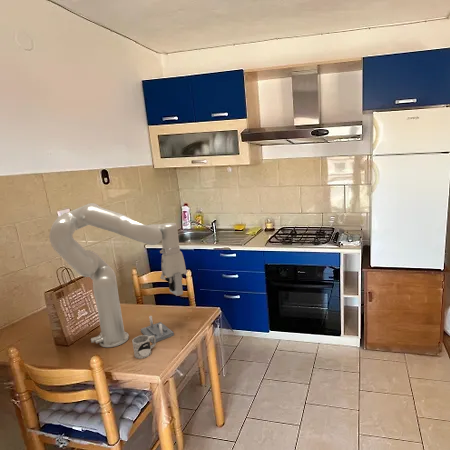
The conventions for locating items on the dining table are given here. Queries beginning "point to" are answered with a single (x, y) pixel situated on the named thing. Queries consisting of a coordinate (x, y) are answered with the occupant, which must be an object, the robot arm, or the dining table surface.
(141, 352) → the mug
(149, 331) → the grey peg stand
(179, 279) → the block
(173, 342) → the dining table surface
